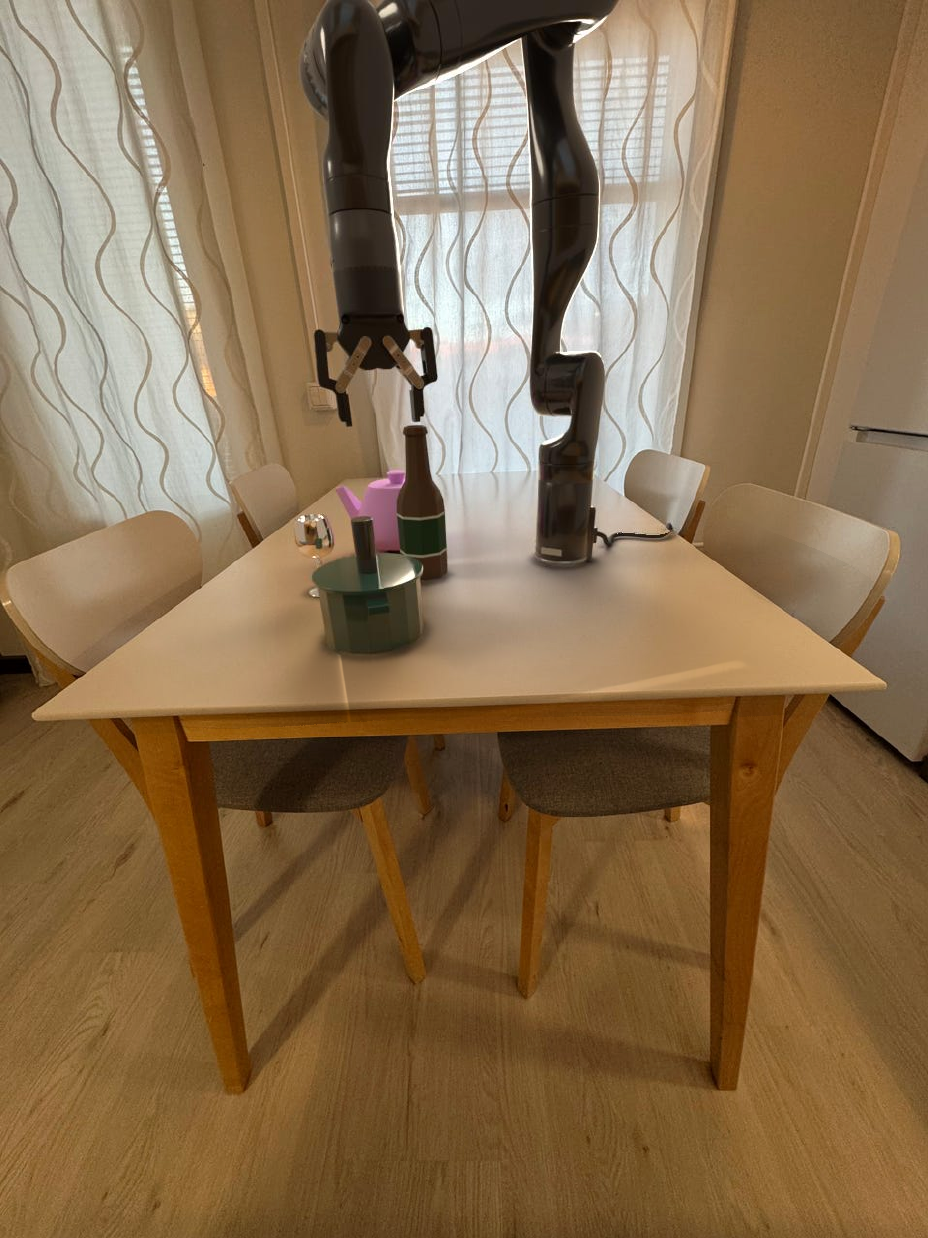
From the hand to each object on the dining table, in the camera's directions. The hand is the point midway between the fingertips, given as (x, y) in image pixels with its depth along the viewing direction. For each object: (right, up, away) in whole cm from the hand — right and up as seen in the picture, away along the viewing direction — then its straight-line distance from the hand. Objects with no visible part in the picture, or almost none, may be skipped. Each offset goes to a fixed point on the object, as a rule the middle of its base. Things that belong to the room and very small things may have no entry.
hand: (383, 423), depth 63 cm
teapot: (-4, -10, +39) cm, 40 cm away
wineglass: (-12, -20, +18) cm, 30 cm away
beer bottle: (+4, -17, +23) cm, 29 cm away
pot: (-2, -27, +3) cm, 27 cm away
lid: (-2, -19, 0) cm, 19 cm away
